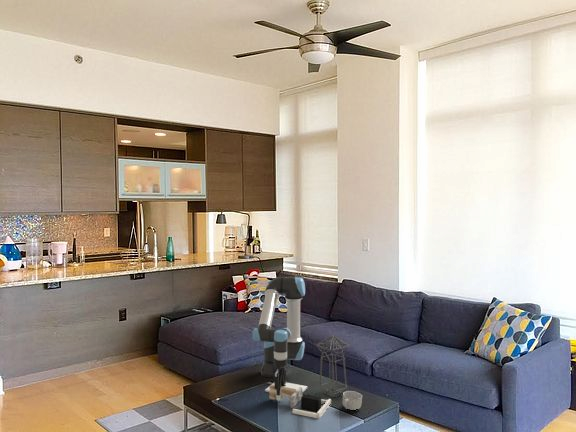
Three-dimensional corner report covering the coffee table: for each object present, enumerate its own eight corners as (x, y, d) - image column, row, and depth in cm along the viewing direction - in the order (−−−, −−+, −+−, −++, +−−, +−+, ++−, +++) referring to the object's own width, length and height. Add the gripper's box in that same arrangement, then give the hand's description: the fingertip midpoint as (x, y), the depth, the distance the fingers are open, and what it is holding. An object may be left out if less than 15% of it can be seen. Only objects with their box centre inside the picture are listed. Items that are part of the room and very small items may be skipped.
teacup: (350, 402, 275) (350, 389, 275) (366, 408, 267) (366, 394, 267) (334, 410, 265) (334, 395, 265) (350, 416, 257) (350, 402, 257)
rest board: (276, 382, 304) (276, 380, 304) (307, 387, 296) (307, 386, 296) (264, 391, 290) (265, 389, 290) (297, 397, 281) (297, 395, 281)
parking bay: (305, 399, 279) (306, 394, 278) (331, 404, 272) (331, 399, 272) (292, 413, 261) (292, 407, 261) (319, 418, 255) (319, 413, 255)
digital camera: (322, 409, 267) (322, 396, 266) (318, 413, 262) (318, 400, 261) (304, 405, 271) (304, 393, 270) (300, 409, 266) (301, 396, 266)
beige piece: (275, 393, 284) (275, 381, 283) (302, 398, 277) (302, 386, 277) (265, 402, 271) (265, 390, 270) (292, 407, 264) (293, 395, 264)
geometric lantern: (332, 401, 276) (331, 341, 275) (314, 393, 289) (313, 335, 288) (352, 395, 285) (351, 336, 284) (334, 387, 298) (333, 330, 297)
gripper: (280, 353, 283) (279, 392, 284) (268, 361, 268) (268, 403, 269) (292, 354, 280) (291, 394, 281) (280, 363, 265) (280, 405, 266)
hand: (280, 398), depth 275 cm, fingers closed on beige piece, 3 cm apart
